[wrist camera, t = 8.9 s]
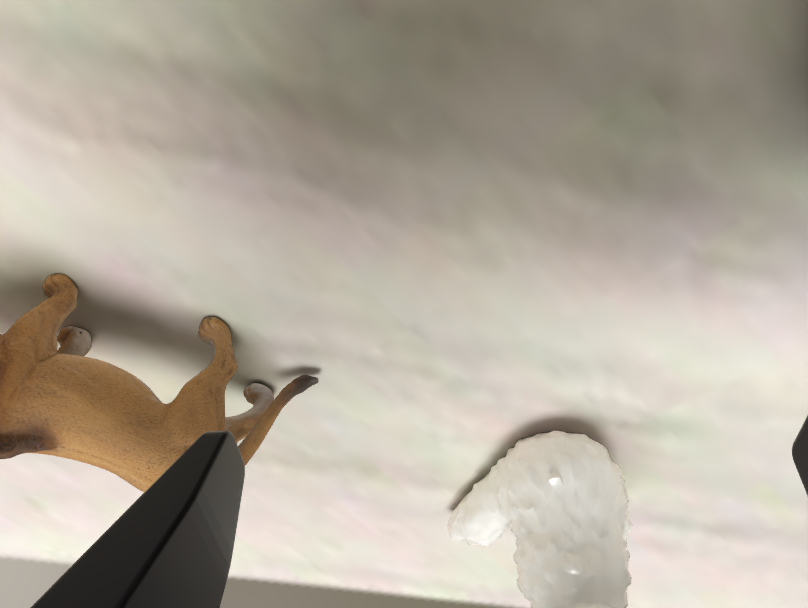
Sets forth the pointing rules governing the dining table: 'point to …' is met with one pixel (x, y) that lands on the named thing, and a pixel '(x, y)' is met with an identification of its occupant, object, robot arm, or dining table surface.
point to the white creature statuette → (555, 520)
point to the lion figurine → (116, 398)
